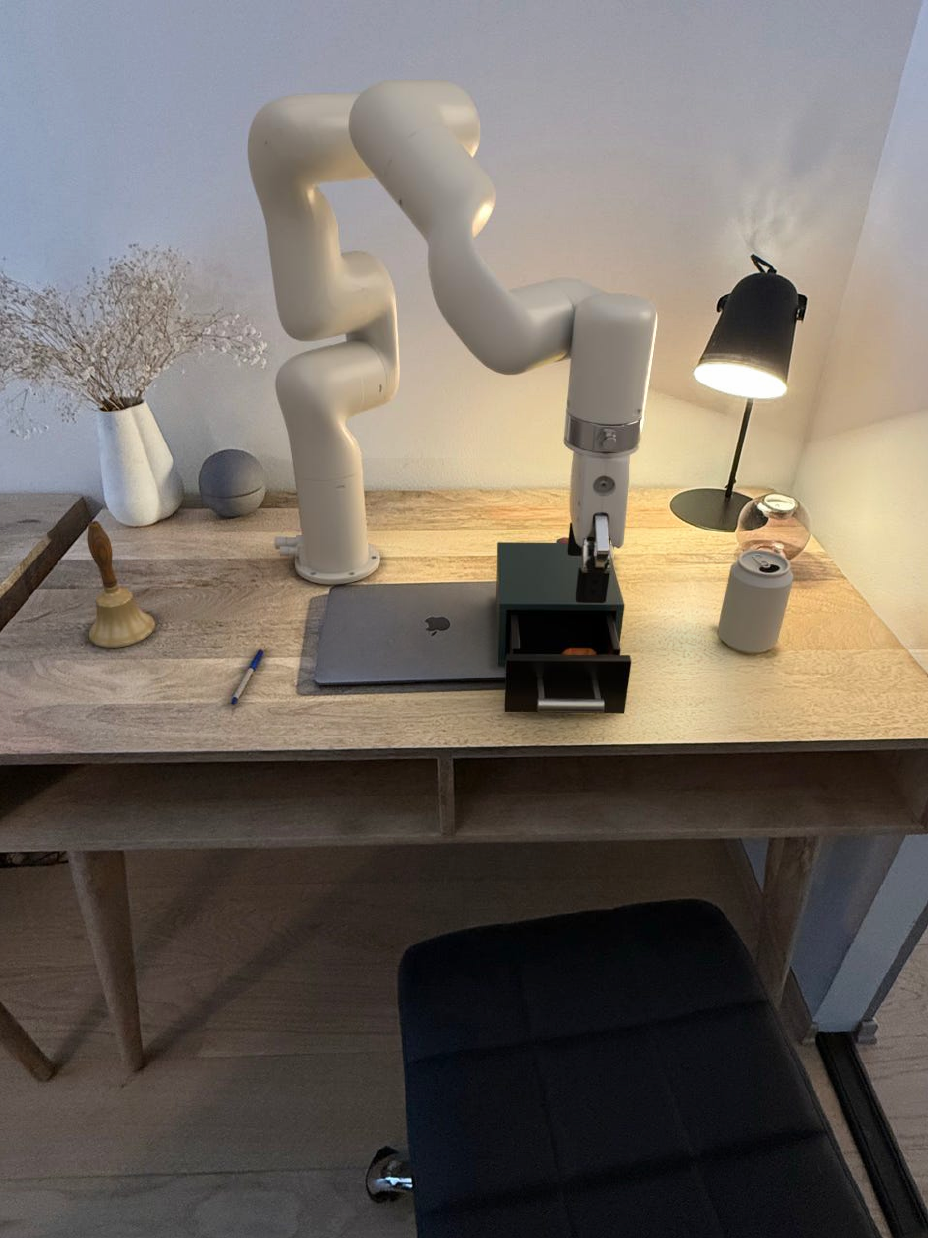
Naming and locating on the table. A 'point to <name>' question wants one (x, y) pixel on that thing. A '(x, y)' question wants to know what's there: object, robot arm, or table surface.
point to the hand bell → (114, 601)
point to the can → (755, 601)
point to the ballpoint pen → (247, 675)
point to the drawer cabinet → (543, 585)
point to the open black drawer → (564, 663)
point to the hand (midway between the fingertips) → (585, 577)
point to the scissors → (579, 651)
